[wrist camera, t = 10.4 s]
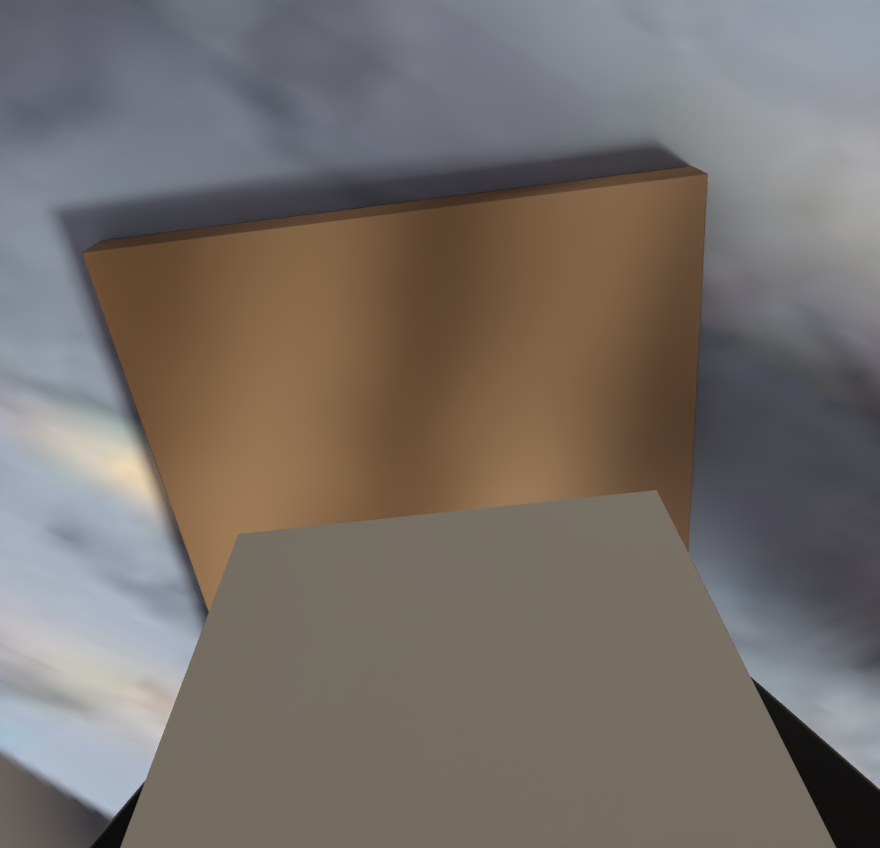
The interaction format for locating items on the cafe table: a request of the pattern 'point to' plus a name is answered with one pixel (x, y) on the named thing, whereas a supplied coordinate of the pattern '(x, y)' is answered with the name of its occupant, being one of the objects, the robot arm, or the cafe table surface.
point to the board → (415, 356)
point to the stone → (471, 694)
